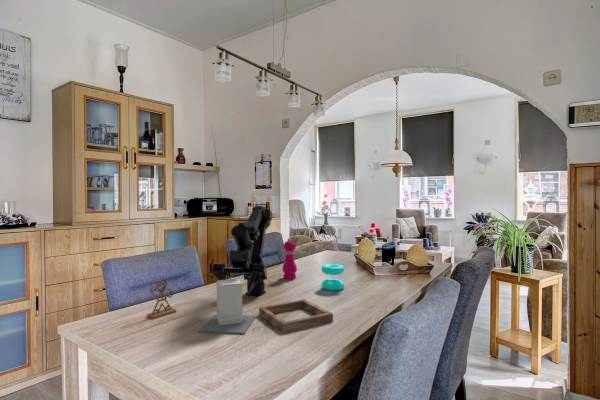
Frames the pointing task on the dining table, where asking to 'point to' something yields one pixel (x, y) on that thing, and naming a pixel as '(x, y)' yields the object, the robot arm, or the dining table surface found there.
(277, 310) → the walnut pocket
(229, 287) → the supplement box
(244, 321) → the slate mat
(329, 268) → the donuts
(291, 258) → the pepper mill
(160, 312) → the brown openwork stand
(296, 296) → the dining table surface
